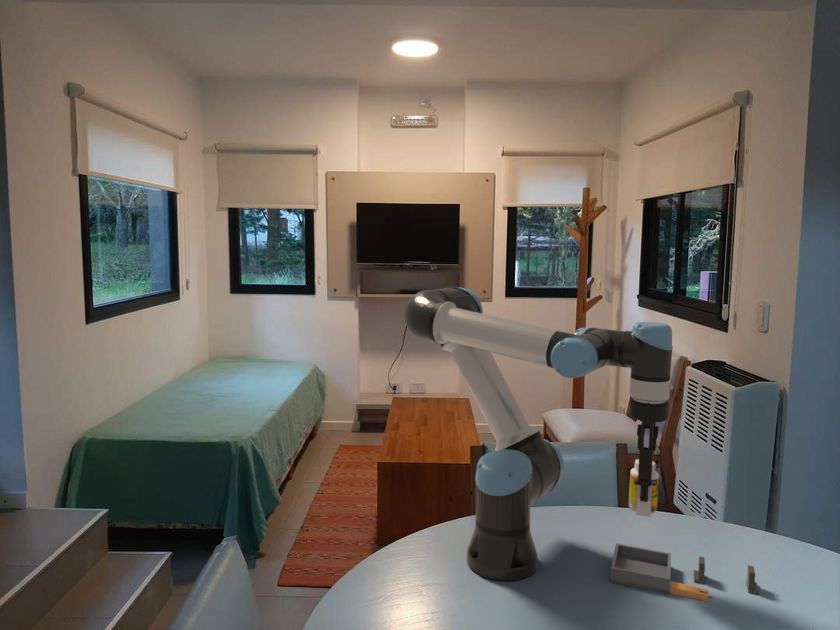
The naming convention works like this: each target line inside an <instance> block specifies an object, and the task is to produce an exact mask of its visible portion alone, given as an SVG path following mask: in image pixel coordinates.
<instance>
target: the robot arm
mask: <svg viewBox="0 0 840 630" xmlns="http://www.w3.org/2000/svg"><path fill="white" fill-rule="evenodd" d="M483 311H484V310H483V306H482V303H481V300H480V299H479V297H478V296H477V294H475V293H474V292H473V291H471V290H469V289H467V288H464V287H458V286H448V287H445V288H434V289H424V290H421V291H418V292H417V293H415V294H413V296H411V298H410V299H409V300H408V301H407V304H406V305H405V308H404V314H403V315H404V316H403V317H404V322H405V324H406V327H407V329H408V331H410V332H411V333H412V334H413V336H415V337H417V338H419V339H421V340H424V341H429V342H434V343H436V344H439V345H440V347H441V349H442V350H443V351H446V352H449V353H451V354H452V357H453V358H454V360H455V363H456V365H457V366H458V369H459V371H460V372H461V374H462V376H463V378H464V380H465V383H466V384H467V386H468V389H469V390H470V392H471V395H472V396H473V398H474V400H475V402H476V404H477V407H478V408H479V410H480V412H481V413H482V415H483V417H484V420H485V421H486V424H487V426H488V427H489V430H490V432H491V433H492V436H493V438H494V439H495V441H496V445H495V449H494V450H492V451H489V452H487V453H485V454H484V455H482V456H481V457H480V458H479V460H478V462H477V464H476V472H475V476H474V478H475V479H474V480H475V527H474V530H473V533H472V535H471V539H470V541H469V543H468V546H467V549H466V563H467V565H468V567H469V569H471V571H473V572H474V573H476V574H477V575H479V576H481V577H483V578H487V579H489V580H494V581H502V582H503V581H504V582H509V581H511V582H513V581H519V580H522V579H526V578H528V577H530V576H531V575H533V574H534V573H535V572H536V571H537V569H538V552H537V547H536V546H535V545H536V544H535V542H534V539H533V536H532V532H531V507H532V505H533V504H534V503H536V502H537V501H538V500H539V499H540V498H542V497H543V496H544V495H546V494H549V493H550V492H552V491H553V490H554V489H555V488H556V486H557V485H558V484H559V483H560V482H561V480H562V478H563V475H564V470H565V463H564V458H563V455H562V453H561V451H560V449H559V448H558V446H556V444H554V443H553V442H550V441H549V440H547V439H545V438H544V437H543V435H542V433H541V432H540V430H539V428H535V427H533V426H531V425H530V424H529V422H528V420H527V418H526V417H525V414H524V413H523V411H522V409H521V407H520V405H519V402H518V401H517V399H516V397H515V395H514V394H513V392H512V390H511V389H510V386H509V384H508V382H507V380H506V378H505V376H504V374H503V372H502V371H501V369H500V366H499V365H498V363H497V361H496V360H495V358H494V356H493V354H498V355H501V356H506V357H508V358H513V359H516V360H519V361H524V362H528V363H531V364H536V365H539V366H543V367H546V368H551V369H553V370H554V371H556V373H557V374H559V375H561V376H562V377H564V378H568V379H575V378H582V377H586V376H587V375H589V374H591V373H592V372H594V371H596V370H598V369H601V368H602V367H605V366H609V367H610V366H611V367H617V368H618V367H619V368H626V369H627V368H628V369H630V377H629V396H630V397H631V398H630V399H629V406H628V415H629V416H630V418H632V420H633V419H634V420H635V421H640V423H641V424H639V423H638V424H637V427H636V429H637V430H636V436H637V450H638V451H639V453H638V454H639V455H638V459H639V469H638V480H637V481H634V484H637V506H636V512H635V515H636V516H643V517H648V518H650V517H651V515H652V514H651V495H652V482H651V478H652V461H654V452H656V450H657V449H656V448H657V439H658V437H659V426H657V423H663V422H667V420H668V419H669V414H670V413H669V412H670V402H669V401H668V400H670V390H673V389H674V385H673V384H670V383H671V367H672V357H673V348H674V346H673V330H672V327H671V326H670V325H669V324H666V323H662V322H654V321H653V322H652V321H651V322H650V321H639V322H638V321H637V322H635V323H634V324H633V325H632V329H631V330H616V329H606V328H597V327H580V328H578V329H577V330H575V332H574V334H573V333H570V332H565V331H560V330H557V329H551V328H548V327H543V326H540V325H536V324H535V325H534V324H529V323H525V322H522V321H521V322H520V321H517V320H512V319H507V318H503V317H498V316H495V315H491V314H486V313H484V312H483ZM492 353H493V354H492ZM657 470H658V469H657V468H656V469H655V471H657Z"/></svg>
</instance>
